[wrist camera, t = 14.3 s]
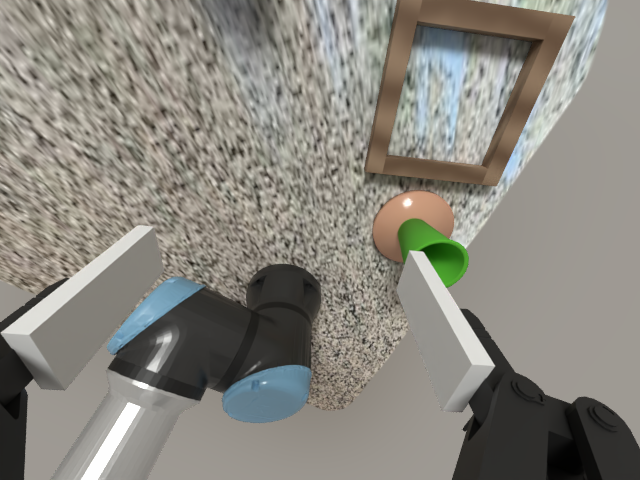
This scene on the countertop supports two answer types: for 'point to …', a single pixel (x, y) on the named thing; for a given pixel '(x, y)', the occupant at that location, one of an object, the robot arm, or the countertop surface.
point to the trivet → (406, 208)
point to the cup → (434, 249)
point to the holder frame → (547, 38)
